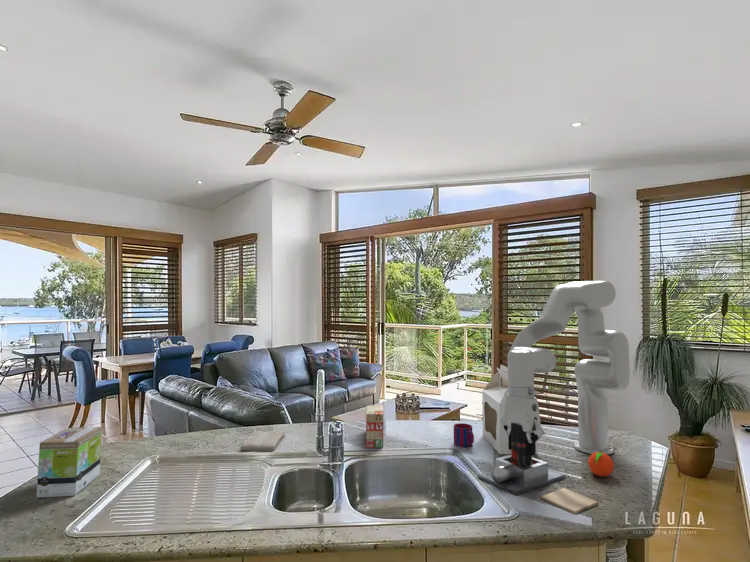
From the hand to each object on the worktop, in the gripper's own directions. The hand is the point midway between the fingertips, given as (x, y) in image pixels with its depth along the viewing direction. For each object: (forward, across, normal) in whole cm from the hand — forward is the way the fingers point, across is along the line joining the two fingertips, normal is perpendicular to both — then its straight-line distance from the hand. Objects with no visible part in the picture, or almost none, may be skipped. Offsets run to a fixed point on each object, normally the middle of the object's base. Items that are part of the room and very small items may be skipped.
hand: (521, 451), depth 134 cm
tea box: (+7, +65, +113) cm, 131 cm away
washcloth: (+8, +72, +54) cm, 90 cm away
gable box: (+8, +23, -21) cm, 32 cm away
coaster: (+8, -17, +2) cm, 19 cm away
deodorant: (+7, 0, 0) cm, 7 cm away
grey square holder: (+8, 0, 0) cm, 8 cm away
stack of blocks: (+8, +55, +17) cm, 58 cm away
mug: (+8, +30, -6) cm, 32 cm away
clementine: (+8, -12, -21) cm, 25 cm away
